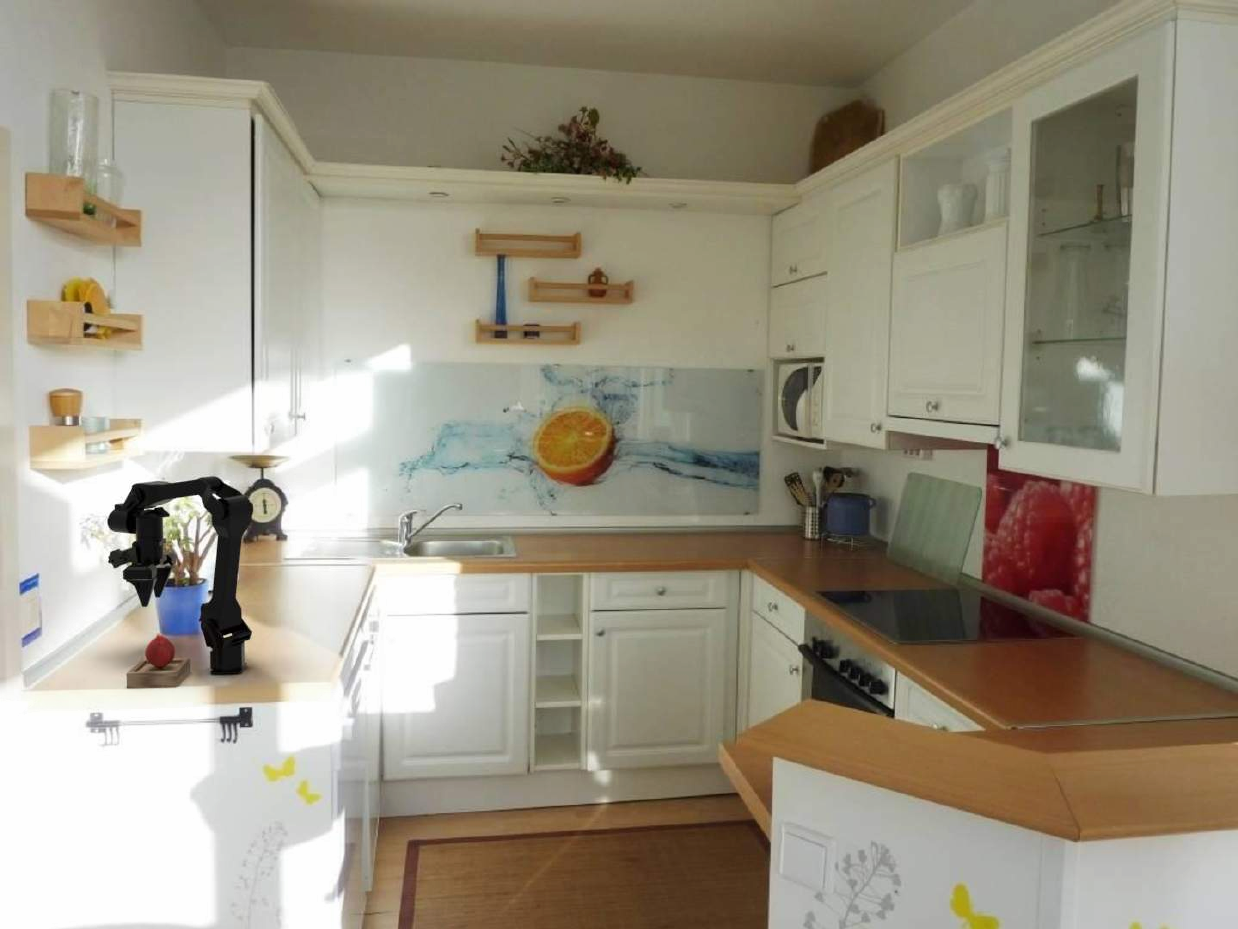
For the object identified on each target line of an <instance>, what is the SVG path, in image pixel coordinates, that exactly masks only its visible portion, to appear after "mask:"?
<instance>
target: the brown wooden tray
mask: <svg viewBox="0 0 1238 929" xmlns="http://www.w3.org/2000/svg"><path fill="white" fill-rule="evenodd" d="M190 673H191V658H173V660H172V661H171V662H170V663H169V664H168V665H166V666H165V667H164V668H162V669H157V668H156V667H154V666H153V665H152V664H150V663H149V662H148V661H147V659H146V658H143V659H141V660H139V662H137V664H135V665H134V666H133V667H132V668H131V669H130V670H128V671H127V672H126V688H127V689H135V688H137V689H141V688H142V689H143V688H177V687H178V686H179V685H180V684H181V683H182V682H183V681H184V680H185V679H186V678H187V676H189V674H190Z"/></svg>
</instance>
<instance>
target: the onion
mask: <svg viewBox="0 0 1238 929" xmlns="http://www.w3.org/2000/svg"><path fill="white" fill-rule="evenodd" d="M144 654H145V655H144V656H145V659H147V661H148V662H149V663H150V664H152V665H153V666H154V667H156V668H157V669H162V668H164V667H165V666H166V665H168V664H169V663H170V662H171V661H172V660H173V659H175V655H176V650H175V646H174V644H173V643H172V642H171V641H170V639H169V638H167V637H165V636H164V635H162V634H161V633H160V632H157V633H156V637H155V638H153V639H152V640H151V641H150V642H149V643H148V645H146V649H145V653H144Z"/></svg>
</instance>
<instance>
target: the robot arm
mask: <svg viewBox="0 0 1238 929" xmlns="http://www.w3.org/2000/svg"><path fill="white" fill-rule="evenodd" d="M214 495H215V496H216V497H215V496H214ZM192 496H193V497H194V496H199V497H200V498H201V502H202V506H203V508H204V509H205V510H206V511H207V512H208V513H209V514H210V515H211V526H213V529H214V531H215V533H216V534H217V543H216V552H215V553H216V554H215V562H214V563H215V564H214V571H213V572H214V574H213V583H212V595H211V598H210V600H209V601H207V602H205V603H201V604H200V616H199V619H198V622H200V630H201V633H202V636H203V638H204V642H205V646H206V647H207V648H210V649H211V650H210V652H209V660H210V661H209V669H210V670H211V671H210V675H229V674H230V675H233V674H235V675H237V674H242V673H243V671H244V670H245V668H246V667H247V666H248V663H246V656H245V655H246V651H245V649H246V645H245V644H246V641H250V640H251V638H252V634H253V632H252V630H251V628H250V627H249V626H248V624H247V623H246V622H245V620H244V618H243V615H242V614H243V612H242V607H241V605H240V603H239V601H238V599H237V588H238V579H239V567H240V558H241V548H242V538H243V535H244V534H245V532H246V531H247V530H248V529H249V526H250V525H251V521H252V517H253V514H254V504H253V503H252V502H251V501H250V498H248V497H247V496H246V495H244V494H243V493H242V492H241V491H239V489H237V488H234V487H233V486H231V485H228V484H226V483H225V482H224V481H223V480H222V479H221V478H220V477H218V476H216V475H212V476H211V475H210V476H204V477H198V478H197V479H190V480H189V479H188V480H183V481H177V482H169V481H162V480H154V481H146V482H137V483H134V484H132V486H131V487H130V491H129V492H128V494H127V497H126V498H125V500H124V502H121V503H116V504H114V508H113V510H112V511H111V512H110V513H109V515H108V517H107V519H106V520H107V521H106V522H107V527H108V528H109V530H110V531H112V532H114V533H119V534H121V533H123V534H130V535H135V540H134V541H133V542H132V543H131V546H130V547H128V548H125V549H122V550H121V549H120V548H117V549H115V550H111V551H109V556H108V557H107V558H108V560H107V563H109V565H110V564H111V566H112V568H113V569H118V568H120V567H121V566H124V565H126V564H129V565H128V566H126V567H125V568H124V569H123V570H122V580H125V581H126V583H129V584H131V585H132V586H134V588H135V591H136V594H137V596H138V600H139V601H140V605H141V607H142V608H146V607H148V606H149V603H150V600H151V599H152V598H151V597H152V594H153V593H154V597H155V598H157V599H158V598H161V597H162V595H163V591H164V590H165V587H166V584H167V583H168V581H169V579H170V576H171V574H172V572H173V569H175V565H176V564H177V555H176V554H175V553H174V552H172V551H171V552H169V551H168V552H167V551H166V552H165V551H164V550H165V549H164V548H165V547H164V546H165V544H166V543H167V537H166V538H164V520H163V519H164V518H169V517H170V516H171V514H170V513H169V512H168V511H167V510H166V509H165V508H164V507H163V506H162V505H165V504H169V503H170V502H172V501H173V500H176V499H180V498H181V499H182V498H188V497H192ZM217 497H218V499H217ZM158 506H159V507H158ZM130 563H131V564H130ZM227 635H229V636H227ZM224 636H226V637H224Z"/></svg>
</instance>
